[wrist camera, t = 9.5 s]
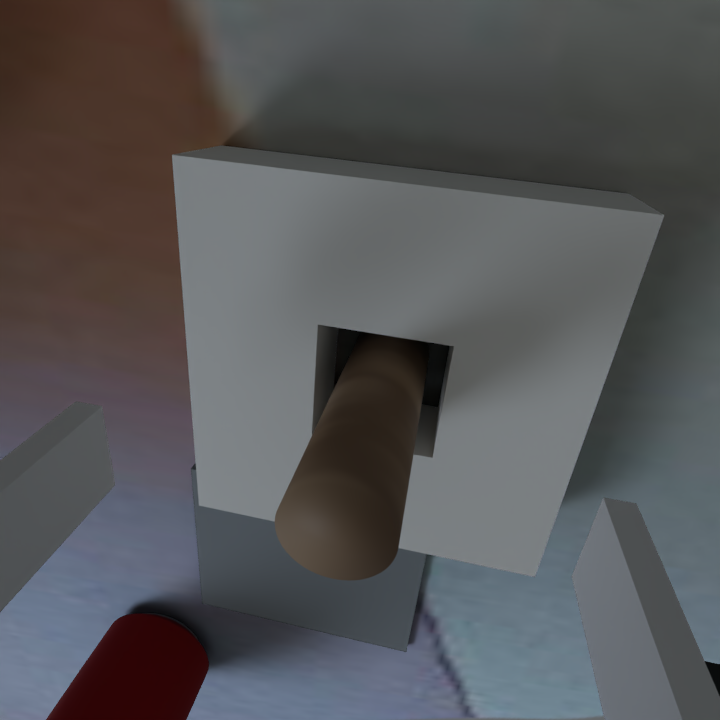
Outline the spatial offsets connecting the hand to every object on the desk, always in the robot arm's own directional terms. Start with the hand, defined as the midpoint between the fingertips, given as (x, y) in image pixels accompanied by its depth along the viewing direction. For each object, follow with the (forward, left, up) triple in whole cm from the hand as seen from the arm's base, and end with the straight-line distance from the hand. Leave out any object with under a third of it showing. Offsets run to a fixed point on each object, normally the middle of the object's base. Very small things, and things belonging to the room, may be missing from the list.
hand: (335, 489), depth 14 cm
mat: (-3, -13, -8) cm, 16 cm away
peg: (0, 0, -8) cm, 8 cm away
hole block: (0, 0, -8) cm, 8 cm away
